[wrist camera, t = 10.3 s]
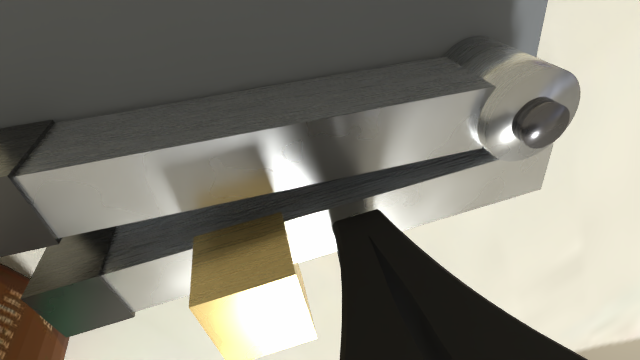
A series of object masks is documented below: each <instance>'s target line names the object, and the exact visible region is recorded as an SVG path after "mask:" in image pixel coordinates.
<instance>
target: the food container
mask: <svg viewBox="0 0 640 360" xmlns="http://www.w3.org/2000/svg"><path fill="white" fill-rule="evenodd" d="M29 281H30V279H29V278H27V277H25V276H24V275H22V274H20V273H18V272H16V271H14V270H12V269H10V268H9V267H7V266H4V265H2V264H0V360H64V357H65V353H66V349H67V345H68V341H69V337H67V338H66V337H65V336H64V335H62V334H61V333H60V332H59V331H58V330H57V329H55V328H54V327H53V326H52V325H51V324H49V323H48V322H47V321H46V320H45V319H44V318H42V317H41V316H40V315H39V314H38V313H36V312H35V311H34V310H33V309H32V308H30V307H29V306H28V305H27V304H26V303H25V302H23V301H22V300H21V299H20V298H21V297H22V295H23V293H24V291H25V289H26V287H27V285H28V283H29Z"/></svg>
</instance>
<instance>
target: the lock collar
mask: <svg viewBox="0 0 640 360" xmlns="http://www.w3.org/2000/svg"><path fill="white" fill-rule="evenodd" d="M189 308H190V310H191V311H192V313H193V314H194V316H195V317H196V318H197V320H198V321H199V323H200V324H201V326H202V327H203V328H204V330H205V331H206V333H207V334H208V336H209V337H210V338H211V340H212V341H213V343H214V344H215V346H216V347H217V349H218V350H219V351H220V353H221V354H222V356H223V357H224V359H225V360H252V359H255V358H258V357H261V356H264V355H267V354H270V353H274V352H277V351H280V350H283V349H286V348H289V347H292V346H295V345H298V344H301V343H305V342H308V341H311V340H314V339H317V336H316V332H315V328H314V324H313V319H312V315H311V311H310V307H309V303H308V299H307V295H306V291H305V287H304V283H303V279H302V275H301V272H300V269H299V265H298V262H297V259H296V256H295V253H294V250H293V247H292V244H291V240H290V237H289V234H288V231H287V228H286V225H285V222H284V219H283V215H282V212H278V213H275V214H271V215H268V216H264V217H261V218H257V219H254V220H250V221H247V222H243V223H240V224H236V225H233V226H230V227H226V228H223V229H219V230H216V231H212V232H209V233H205V234H202V235H198V236H195V237H194V239H193V254H192V269H191V284H190V299H189Z"/></svg>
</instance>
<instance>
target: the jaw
mask: <svg viewBox="0 0 640 360" xmlns="http://www.w3.org/2000/svg"><path fill="white" fill-rule="evenodd" d="M579 100H580V86H579V82H578V80H577V78H576V77H575V76H574V75H573V74H572V73H571V72H569V71H567V70H564V69H562V68H560V67H557V66H555V65H553V64H550V63H548V62H546V61H543V60H541V59H539V58H536V57H534V56H532V55H529V54H527V53H525V52H522V51H520V50H517V49H515V48H513V47H510V46H508V45H506V44H503V43H501V42H499V41H496V40H494V39H492V38H489V37H485V36H476V37H471V38H468V39H465V40H463V41H461V42H459V43H458V44H456V45H455V46H454V47H452V48H451V49H450V50H449V51H448V52H447V53H446V54H445V55H444V56H442V57H437V58H431V59H425V60H419V61H413V62H407V63H402V64H396V65H390V66H384V67H378V68H372V69H367V70H361V71H355V72H349V73H343V74H337V75H332V76H326V77H320V78H314V79H308V80H302V81H297V82H291V83H285V84H279V85H273V86H267V87H262V88H256V89H250V90H244V91H238V92H233V93H227V94H221V95H215V96H209V97H203V98H198V99H192V100H186V101H180V102H174V103H168V104H163V105H157V106H151V107H145V108H139V109H133V110H128V111H122V112H116V113H110V114H104V115H98V116H93V117H87V118H81V119H75V120H69V121H63V122H58V123H55V122H54V120H47V121H41V122H35V123H29V124H24V125H18V126H12V127H6V128H0V257H2V256H7V255H12V254H16V253H21V252H26V251H30V250H35V249H40V248H44V247H49V246H53V245H58V244H59V243H60V241H61V239H62V237H67V236H72V235H76V234H81V233H86V232H90V231H95V230H100V229H105V228H109V227H114V226H119V225H123V224H128V223H133V222H137V221H142V220H147V219H151V218H156V217H161V216H166V215H170V214H175V213H180V212H184V211H189V210H194V209H198V208H203V207H208V206H212V205H217V204H222V203H227V202H231V201H236V200H241V199H245V198H250V197H255V196H259V195H264V194H269V193H273V192H278V191H283V190H288V189H292V188H297V187H302V186H306V185H311V184H316V183H320V182H325V181H330V180H334V179H339V178H344V177H349V176H353V175H358V174H363V173H367V172H372V171H377V170H381V169H386V168H391V167H395V166H400V165H405V164H409V163H414V162H419V161H424V160H428V159H433V158H438V157H442V156H447V155H452V154H456V153H461V152H466V151H470V150H475V149H480V148H482V146H483V147H484V148H485V149H486V150H487V151H489V152H490V153H491V154H492V155H493V156H495V157H496V158H498V159H500V160H503V161H509V162H511V161H520V160H524V159H527V158H529V157H532V156H534V155H536V154H538V153H539V152H541V151H543V150H544V149H546V148H547V147H548V146H550V145H551V144H552V143H553V142H554V141H555V140H556V139H558V138H559V137H560V136H561V134H562V133H563V132H564V131H565V129H566V128H567V127H568V125H569V124H570V122H571V121H572V119H573V117H574V115H575V113H576V111H577V108H578V105H579Z"/></svg>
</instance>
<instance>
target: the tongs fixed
mask: <svg viewBox="0 0 640 360" xmlns="http://www.w3.org/2000/svg"><path fill="white" fill-rule="evenodd" d="M552 147H553V143H552V144H551V145H550V146H548V147H547V148H546V149H544V150H543V151H541V152H539V153H538V154H536V155H534V156H532V157H529V158H527V159H524V160H520V161H511V162H509V161H503V160H500V159H498V158H496V157H495V156H493V155H492V154H491V153H490V152H489V151H487V150H486V149H485V148H484V147H483V146H482V148H480V149H475V150H470V151H466V152H461V153H456V154H452V155H447V156H442V157H438V158H433V159H428V160H424V161H419V162H414V163H409V164H405V165H400V166H395V167H391V168H386V169H381V170H377V171H372V172H367V173H363V174H358V175H353V176H349V177H344V178H339V179H334V180H330V181H325V182H320V183H316V184H311V185H306V186H302V187H297V188H292V189H288V190H283V191H278V192H273V193H269V194H264V195H259V196H255V197H250V198H245V199H241V200H236V201H231V202H227V203H222V204H217V205H212V206H208V207H203V208H198V209H194V210H189V211H184V212H180V213H175V214H170V215H166V216H161V217H156V218H151V219H147V220H142V221H137V222H133V223H128V224H123V225H119V226H114V227H109V228H105V229H100V230H95V231H90V232H86V233H81V234H76V235H72V236H67V237H62V239H61V241H60V243H59V244H58V245H53V246H49V247H47V248H46V250H45V252H44V254H43V256H42V258H41V259H40V261H39V263H38V265H37V267H36V269H35V271H34V273H33V275H32V277H31V279H30V281H29V283H28V285H27V287H26V289H25V291H24V293H23V295H22V297H21V298H20V299H21V300H22V301H23V302H25V303H26V304H27V305H28V306H29V307H30V308H32V309H33V310H34V311H35V312H36V313H38V314H39V315H40V316H41V317H42V318H44V319H45V320H46V321H47V322H48V323H49V324H51V325H52V326H53V327H54V328H55V329H57V330H58V331H59V332H60V333H61V334H62V335H64V336H65V337H66V338H67V337H70V336H73V335H77V334H80V333H83V332H87V331H90V330H93V329H96V328H100V327H103V326H106V325H110V324H113V323H116V322H120V321H123V320H126V319H129V318H133V317H134V316H135V312H136V311H139V310H143V309H146V308H149V307H152V306H156V305H159V304H162V303H166V302H169V301H172V300H176V299H179V298H182V297H186V296H189V295H190V284H191V269H192V254H193V239H194V237H195V236H198V235H202V234H205V233H209V232H212V231H216V230H219V229H223V228H226V227H230V226H233V225H236V224H240V223H243V222H247V221H250V220H254V219H257V218H261V217H264V216H268V215H271V214H275V213H278V212H282V215H283V219H284V222H285V225H286V228H287V231H288V234H289V237H290V240H291V244H292V247H293V250H294V253H295V256H296V259H297V262H301V261H305V260H308V259H311V258H315V257H318V256H321V255H325V254H328V253H331V252H334V251H337V247H336V242H335V237H334V233H333V228H332V225H333V223H334V222H335V221H338V220H341V219H345V218H348V217H351V216H355V215H358V214H362V213H365V212H369V211H372V210H375V209H378V210H380V211H381V212H382V213H383V214H384V215H385V216H386V217H387V218H388V219H389V220H390V221H391V222H392V223H393V224H394V225H395V226H396V227H397V228H398V229H399V230H400V231H404V230H407V229H411V228H414V227H417V226H420V225H424V224H427V223H430V222H434V221H437V220H440V219H444V218H447V217H450V216H454V215H457V214H460V213H463V212H467V211H470V210H473V209H477V208H480V207H483V206H487V205H490V204H493V203H497V202H500V201H503V200H507V199H510V198H513V197H516V196H520V195H523V194H526V193H530V192H533V191H536V190H540V189H541V187H542V183H543V180H544V176H545V172H546V169H547V165H548V162H549V158H550V155H551V151H552Z"/></svg>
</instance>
